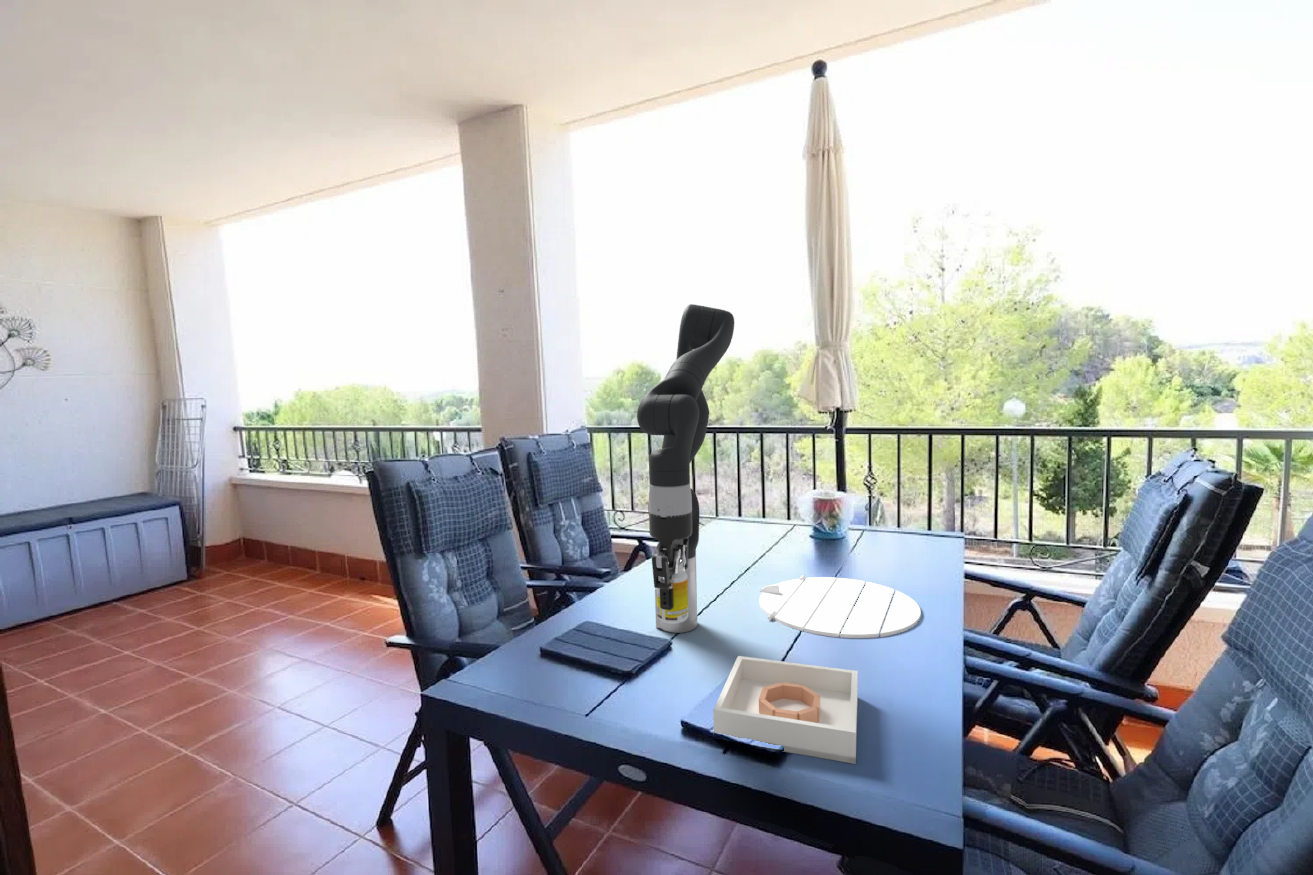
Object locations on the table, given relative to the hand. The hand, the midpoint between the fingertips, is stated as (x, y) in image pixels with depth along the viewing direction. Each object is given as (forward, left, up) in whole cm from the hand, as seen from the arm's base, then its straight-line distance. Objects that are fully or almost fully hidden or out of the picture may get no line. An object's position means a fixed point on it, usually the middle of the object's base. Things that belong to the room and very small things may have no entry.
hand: (672, 601), depth 107 cm
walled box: (+20, +2, -19) cm, 28 cm away
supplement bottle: (0, 0, -3) cm, 3 cm away
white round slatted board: (+25, +57, -20) cm, 65 cm away
